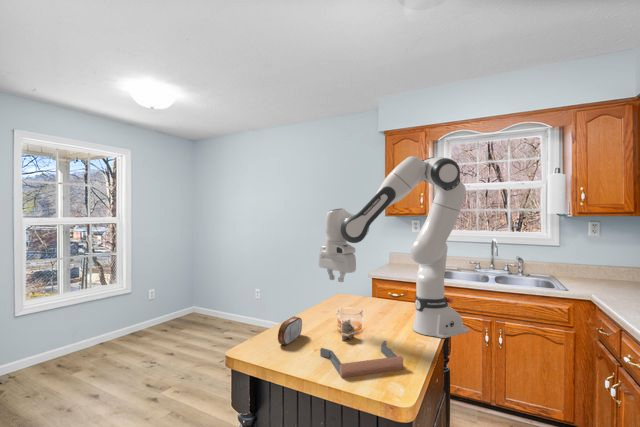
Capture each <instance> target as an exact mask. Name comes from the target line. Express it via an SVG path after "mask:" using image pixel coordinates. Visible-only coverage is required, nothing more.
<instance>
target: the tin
mask: <svg viewBox="0 0 640 427" xmlns="http://www.w3.org/2000/svg"><path fill="white" fill-rule="evenodd" d="M302 330H303V320H302V318H301V317H298V316H295V315H294V316H292V317H290V318H288V319H286V320H284V321H283V322H282V323H281V325H280V327H279V329H278V332H277V341H278V342H277V343H278V344H280V345H284V346H288V345H289V344H291V343H292V342H294V341H296V340H297V339H298V338H299V337H300V335H301V333H302Z"/></svg>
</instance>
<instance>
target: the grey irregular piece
mask: <svg viewBox="0 0 640 427" xmlns="http://www.w3.org/2000/svg"><path fill="white" fill-rule="evenodd" d="M357 332H358V330H356V329H355V325H352V324H351V319H348V320H345V321H343V322H341V332H340V335H341V341H345V340H346V339H350V340H352V338H355V333H357Z"/></svg>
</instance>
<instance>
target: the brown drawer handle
mask: <svg viewBox="0 0 640 427" xmlns="http://www.w3.org/2000/svg"><path fill="white" fill-rule="evenodd" d="M387 345H388V341H387V340H383V341H382V343H381V345H380V353H381V354H383V356H384V357H383V358H376V359H368V360H360V361H351V362H343V363H342V362H341V360H340V359H339V358H338V356H337V355H336V354H335V352H334V351H333V350H330V349H328V348H324V347H321V348H320V349H319V350H320V353H319V354H320V357H322V358H326V359H329V361H330V363H331V364H332V365H333V367H334V369H335V370H336V372H337V373H338V375H339V377H340V378H341V379H342V378H343V379H344V378H350V377H357V376H365V375H371V374H379V373H386V372H393V371H399V370H404V357H402V356H401V355H399V356H398V355H397V354H396V353H395V352H394V351H392V350H391V349H390V348H389V347H388V346H387Z"/></svg>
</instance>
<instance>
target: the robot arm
mask: <svg viewBox="0 0 640 427" xmlns="http://www.w3.org/2000/svg"><path fill="white" fill-rule="evenodd" d="M460 175H461V169H460V166H459V164H458V163H457V162H456V161H455V160H454V159H451V158H448V157H444V156H443V157H442V156H435V157H432V156H431V157H428V158H425V159H421V158H419V157H418V156H415V155H410V156H408V157H406V158H405V159H403V160H402V161H401V162H400V163H399V164H397V165H396V166H395V167H394V168H393V169H392V170H391V171H390V172H389V173H388V175H387V176H386V177H385V179H383V181H382V182H381V184H380V186H379V188H378V190H377V191H376V193H375V194H374V196H373V197H372V198H371V199H370V200H369V201H368V202H367V203H366V204H365V205H364V206H363V208H362V209H360V211H359V212H357V213H356V214H354V213H351V212H349V211H347V210H346V208H335V209H334V208H333V209H329V211H328V212H327V213H326V215H325V225H324V226H325V227H324V228H325V229H324V230H325V235H326V236H325V246H321V247H320V252H319V256H318V267H319V268H322V269H326V272H327V274H328V276H329V277H328V279H329V280H330V281H334V280H335V279H336V278H335V274H334V273H333V272H334V271H337V272H339V274H340V275H339V277H338V278H337V282H339V283H344V281H345V280H344V279H345V276H346V274H353V273H355V272H356V270H357V260H356V259H357V258H356V254H355V253H356V248H355V247H354V246H352V245H351V243H352V244H358V243H360V242H362V241H363V240H365V238H366V236H367V235H368V234H369V232H370V226H371V225H372V224H373V222H374V221H375V220H376V219H377V218H378V217H379V216H380V215H381V214H382V212H384V211H385V210H386V209H387V208H388V207H390V206H392V205H394V204H396V203H398V202H400V201H402V200H403V199H404V198H405V197H407V196H408V195H409V194H410V193H411V192H412V191H413V190H414V188H415V187H416V186H418V185H419V184H420V183H421V182H423V181H424V182H426V183H429V184H430V185H432V186H435V188H436V189H435V190H436V191H435V192H436V193H435V196H434V199H433V201H432V203H431V206H430V208H429V211H428V214H427V216H426V219H425V221H424V223H423V225H422V226H421V228H420V230H419V232H418V233H417V236H416V239H415V240H414V242H413V243H412V244H411V246H410V250H409V252H410V256H411V258H412V260H413V261H414V262H415V263H416V264H419V265H418V268H417V274H416V275H415V276H416V277H415V278H416V282H415V284H416V288H415V290H416V292H415V297H414V298H415V300H414V301H415V304H414V305H415V316H414V321H413V325H412V330H413V331H414V332H416V333H418V334H421V335H424V336H430V337H431V336H432V337H437V338H442V339H446V338H451V337H455V336H460V335H463V334H468V333H470V329H469V328H468V327H467V326H466V325H465V324H464V323H463V318H462V316H461V314H459V312H458V311H456V310H455V309H454V308H452V307H451V306H450V305H449V304H453V303H454V299H453V298H450V297H446V296H445V274H446V273H445V272H446V265H447V257H448V256H447V255H448V254H447V253H448V244H447V240H448V238H449V237H450V235H451V233H452V232H453V230H454V228H455V225H456V222H457V220H458V218H459V215H460V212H461V209H462V207H463V204H464V201H465V200H464V199H465V198H466V197H465V195H466V191H467V190H466V186H465V183H463V182H461V176H460ZM349 243H350V244H349Z"/></svg>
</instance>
